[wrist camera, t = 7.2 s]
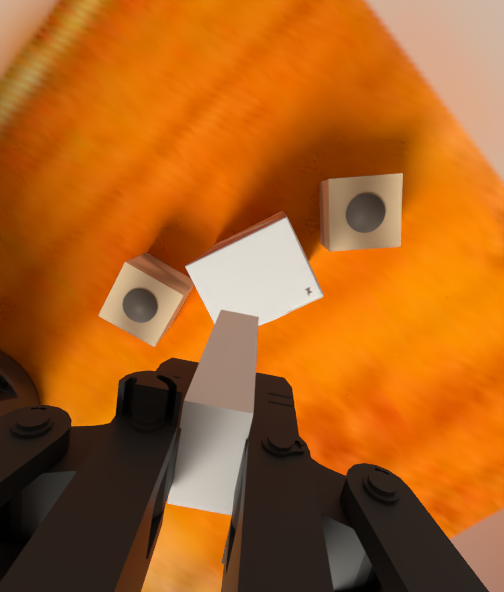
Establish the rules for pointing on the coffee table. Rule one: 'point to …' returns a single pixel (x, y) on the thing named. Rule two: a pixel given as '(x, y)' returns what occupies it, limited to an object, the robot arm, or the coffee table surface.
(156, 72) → the coffee table surface
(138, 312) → the marked block
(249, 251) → the small box
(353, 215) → the marked block
